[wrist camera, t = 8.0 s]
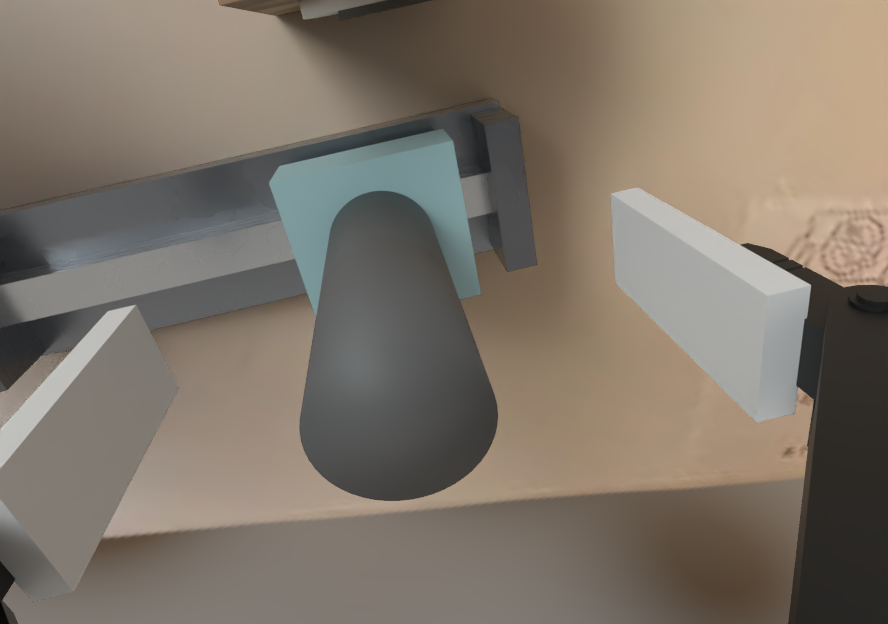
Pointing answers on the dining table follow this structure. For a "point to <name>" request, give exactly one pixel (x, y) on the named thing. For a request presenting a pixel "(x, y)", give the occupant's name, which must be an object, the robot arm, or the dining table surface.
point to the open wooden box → (319, 6)
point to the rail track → (192, 210)
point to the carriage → (388, 317)
